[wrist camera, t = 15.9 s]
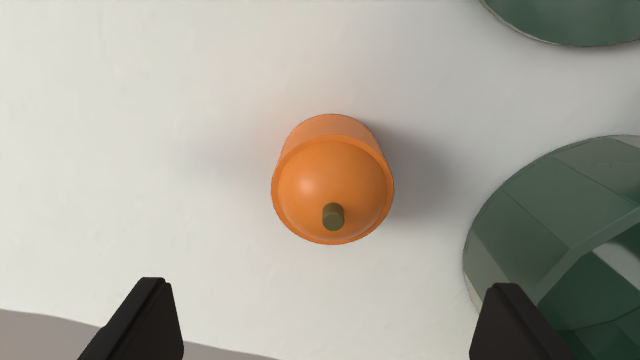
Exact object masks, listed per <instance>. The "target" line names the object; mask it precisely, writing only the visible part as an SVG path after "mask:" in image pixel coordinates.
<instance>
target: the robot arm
mask: <svg viewBox="0 0 640 360" xmlns="http://www.w3.org/2000/svg"><path fill="white" fill-rule="evenodd" d="M183 354H184V345H183V340H182V335H181V330H180V326H179V321H178V316H177V311H176V307H175V302H174V297H173V292H172V287H171V284H170V283H166V281H165V279H164V278H161V277H143V278H141V279H140V280H139V281H138V282H137V283H136V285H135V286H134V288H133V289H132V290H131V292H130V293H129V294H128V296H127V297H126V298H125V300H124V301H123V303H122V304H121V305H120V307H119V308H118V309H117V311H116V312H115V313H114V315H113V316H112V318H111V319H110V320H109V322H108V323H107V324H106V325H105V326H104V327H102V328H101V329H100V330H99V331H98V332H97V333H96V335H95V336H94V338H93V339H92V340H91V342H90V343H89V344H88V346H87V347H86V348H85V350H84V351H83V353H82V354H81V355H80V357H79V358H78V359H77V360H182V358H183ZM469 358H470V360H577V358H576V357H575V356H574V355H573V353H572V352H571V351H570V349H569V348H568V347H567V346H566V344H565V343H564V342H563V341H562V339H561V338H560V337H559V335H558V334H557V333H556V332H555V330H554V329H553V328H552V327H551V325H550V324H549V323H548V321H547V320H546V319H545V318H544V316H543V315H542V314H541V313H540V311H539V310H538V309H537V307H536V306H535V305H534V304H533V302H532V301H531V300H530V299H529V297H528V296H527V295H526V293H525V292H524V291H523V290H522V288H521V287H520V286H519V285H518V284H516V283H499V282H497V283H494V284H493V285H492V287H490V288H488V289H487V290H486V293H485V297H484V300H483V304H482V308H481V311H480V315H479V318H478V322H477V325H476V329H475V332H474V336H473V339H472V343H471V346H470V350H469Z"/></svg>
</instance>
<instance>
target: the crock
mask: <svg viewBox="0 0 640 360" xmlns="http://www.w3.org/2000/svg"><path fill="white" fill-rule="evenodd" d="M463 274H464V279H465V283H466V285H467V288H468V291H469V293H470V297H471V301H472V303H473V304H474V306H475V308H476V310H477V312H478V314H479V315H480V311H481V308H482V304H483V300H484V297H485V293H486V290H487V289H488V288H490V287H492V285H493V284H494V283H497V282H499V283H516V284H518V285H519V286H520V287H521V288H522V290H523V291H524V292H525V293H526V295H527V296H528V297H529V299H530V300H531V301H532V302H533V304H534V305H535V306H536V307H537V309H538V310H539V311H540V313H541V314H542V315H543V316H544V318H545V319H546V320H547V321H548V323H549V324H550V325H551V327H552V328H553V329H554V330H555V332H556V333H557V334H558V335H559V337H560V338H561V339H562V341H563V342H564V343H565V344H566V346H567V347H568V348H569V349H570V351H571V352H572V353H573V355H574V356H575V357H576V358H577V360H640V136H636V135H611V136H604V137H597V138H591V139H587V140H584V141H580V142H576V143H573V144H570V145H567V146H565V147H562V148H559V149H557V150H554V151H552V152H550V153H548V154H546V155H544V156H542V157H540V158H538V159H536V160H535V161H533V162H532V163H530V164H529V165H527V166H525V167H524V168H522V169H521V170H519V171H518V172H517V173H516V174H514V175H513V176H512V177H511V178H509V179H508V180H507V181H506V182H505V183H504V184H503V185H502V186H501V187H500V188H499V189H498V190H496V191H495V192H494V193H493V195H492V196H491V197H490V198H489V200H488V201H487V202H486V203H485V204H484V206H483V207H482V209H481V210H480V212H479V213H478V215H477V217H476V218H475V220H474V222H473V224H472V226H471V228H470V230H469V233H468V236H467V239H466V242H465V246H464V252H463Z"/></svg>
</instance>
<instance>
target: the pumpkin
mask: <svg viewBox="0 0 640 360" xmlns="http://www.w3.org/2000/svg"><path fill="white" fill-rule="evenodd" d="M393 195H394V183H393V177H392V174H391V171H390V169H389V166H388V164H387V162H386V160H385V158H384V156H383V153H382V151H381V149H380V147H379V145H378V143H377V141H376V139H375V137H374V136H373V134H372V133H371V132H370V130H369V129H368V128H366V127H365V126H364V125H363V124H362V123H360V122H359V121H357V120H355V119H353V118H350V117H348V116H344V115H339V114H324V115H318V116H315V117H312V118H310V119H308V120H306V121H304V122H303V123H301V124H300V125H298V126H297V127H296V128H295V129H294V130H293V131H292V132H291V133H290V135H289V136H288V138H287V139H286V142H285V144H284V146H283V149H282V152H281V154H280V157H279V160H278V163H277V165H276V168H275V171H274V174H273V177H272V182H271V197H272V202H273V206H274V208H275V211H276V213H277V215H278V216H279V218H280V219H281V221H282V222H283V223H284V225H285V226H286V227H288V228H289V229H290V230H291V231H292V232H293V233H295V234H296V235H298V236H300V237H301V238H304V239H306V240H308V241H311V242H314V243H319V244H326V245H338V244H345V243H349V242H353V241H356V240H358V239H360V238H362V237H364V236H366V235H368V234H369V233H371V232H372V231H373V230H374V229H376V228H377V227H378V226H379V225H380V223H381V222H382V221H383V220H384V218H385V217H386V215H387V213H388V211H389V209H390V207H391V204H392V201H393Z"/></svg>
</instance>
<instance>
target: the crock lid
mask: <svg viewBox="0 0 640 360" xmlns="http://www.w3.org/2000/svg"><path fill="white" fill-rule="evenodd" d="M479 1H480V2H481V4H482V5H483V6H484V7H485V8H486V9H487V10H488V11H489V12H491V13H492V14H493V15H494V16H495V17H496V18H497V19H498V20H500V21H501V22H503V23H504V24H506V25H507V26H509V27H510V28H512V29H514V30H515V31H517V32H519V33H521V34H524V35H526V36H528V37H531V38H533V39H535V40H539V41H543V42H547V43H551V44H555V45H566V46H576V47H593V46H608V45H614V44H619V43H625V42H630V41H633V40H637V39H640V0H479Z"/></svg>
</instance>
